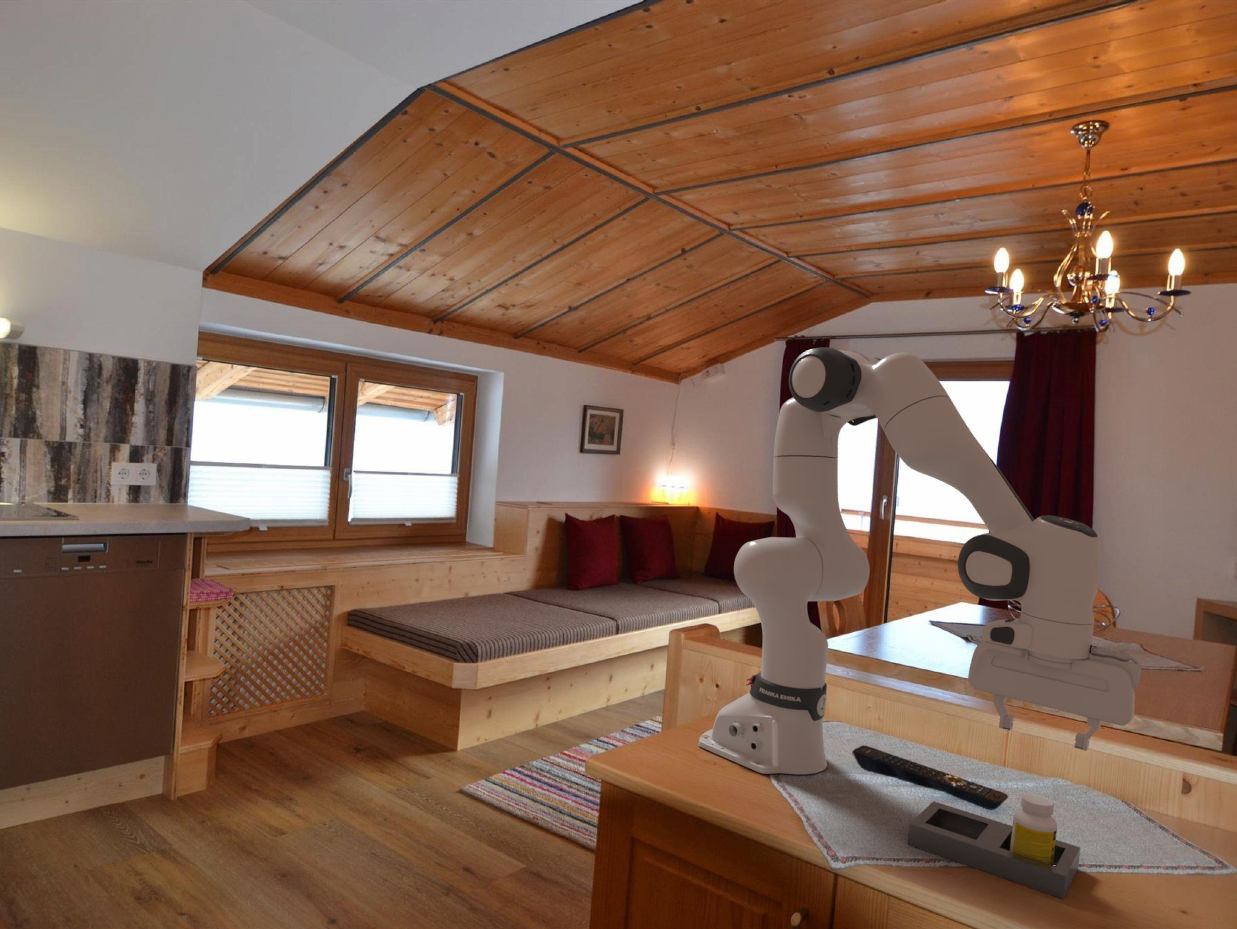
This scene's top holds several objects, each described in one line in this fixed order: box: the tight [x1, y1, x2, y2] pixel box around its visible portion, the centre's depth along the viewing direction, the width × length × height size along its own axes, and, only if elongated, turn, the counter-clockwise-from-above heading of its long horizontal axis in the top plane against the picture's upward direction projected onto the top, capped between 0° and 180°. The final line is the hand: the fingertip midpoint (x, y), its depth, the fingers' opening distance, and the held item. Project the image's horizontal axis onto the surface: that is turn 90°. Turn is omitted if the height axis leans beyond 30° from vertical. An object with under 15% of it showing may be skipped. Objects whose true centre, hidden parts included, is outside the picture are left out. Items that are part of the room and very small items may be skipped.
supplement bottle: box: [1010, 793, 1058, 865], centre depth 119 cm, size 5×5×10 cm
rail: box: [907, 800, 1081, 900], centre depth 122 cm, size 20×11×3 cm, turn 54°
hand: (1042, 738), depth 119 cm, fingers open, 8 cm apart
